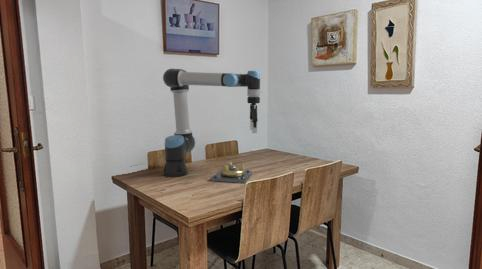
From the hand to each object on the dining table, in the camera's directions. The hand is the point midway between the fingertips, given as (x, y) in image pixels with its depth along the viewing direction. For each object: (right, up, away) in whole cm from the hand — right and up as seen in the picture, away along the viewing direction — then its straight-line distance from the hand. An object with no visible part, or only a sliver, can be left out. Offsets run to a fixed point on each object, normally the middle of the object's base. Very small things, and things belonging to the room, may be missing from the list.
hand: (253, 131), depth 210 cm
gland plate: (-13, -27, -7) cm, 31 cm away
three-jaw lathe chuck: (-13, -25, -7) cm, 29 cm away
